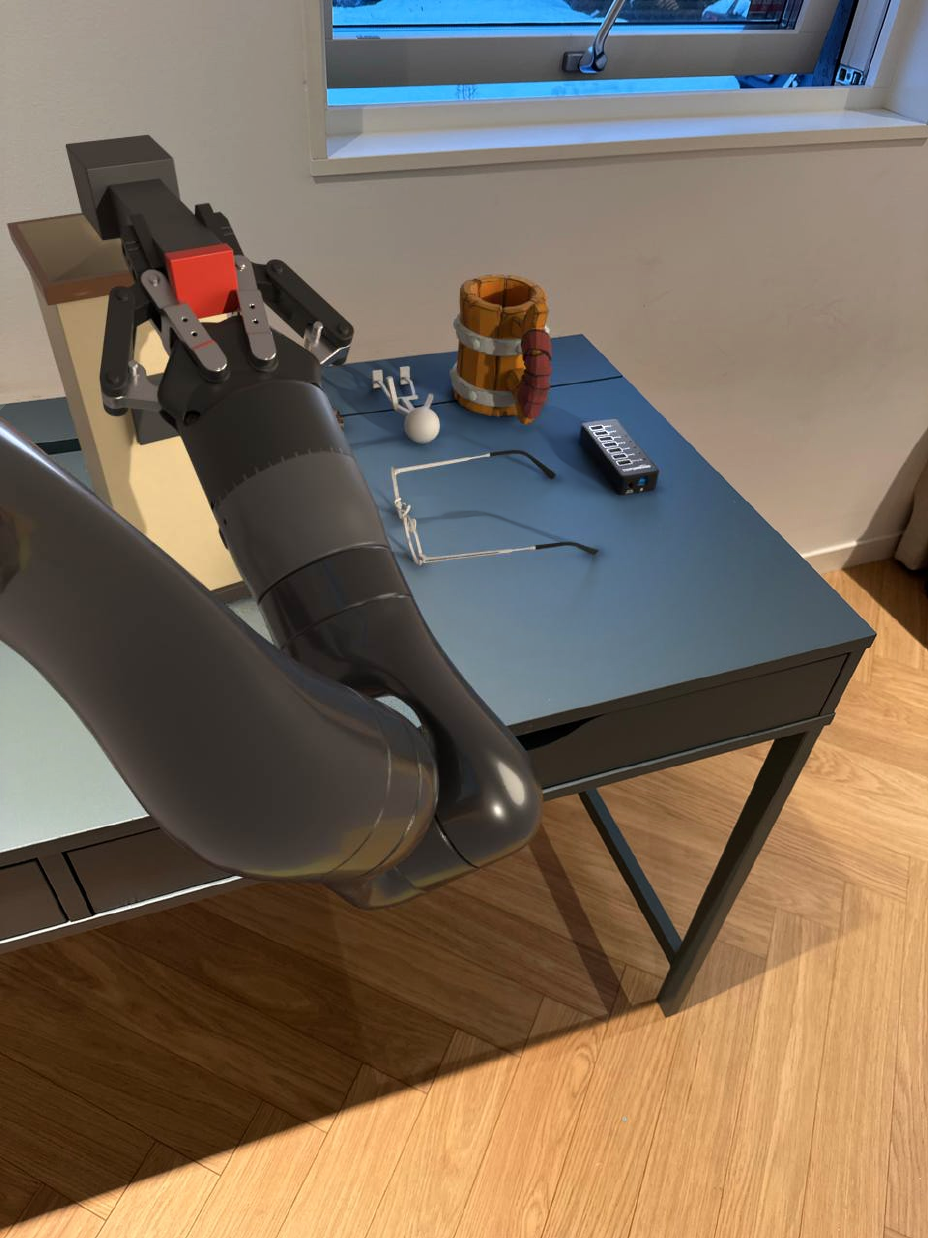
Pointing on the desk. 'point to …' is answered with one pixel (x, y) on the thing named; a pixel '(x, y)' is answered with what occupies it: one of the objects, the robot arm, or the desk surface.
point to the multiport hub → (618, 457)
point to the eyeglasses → (428, 559)
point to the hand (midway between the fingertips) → (168, 220)
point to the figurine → (410, 408)
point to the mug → (502, 347)
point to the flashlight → (154, 216)
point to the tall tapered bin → (140, 439)
